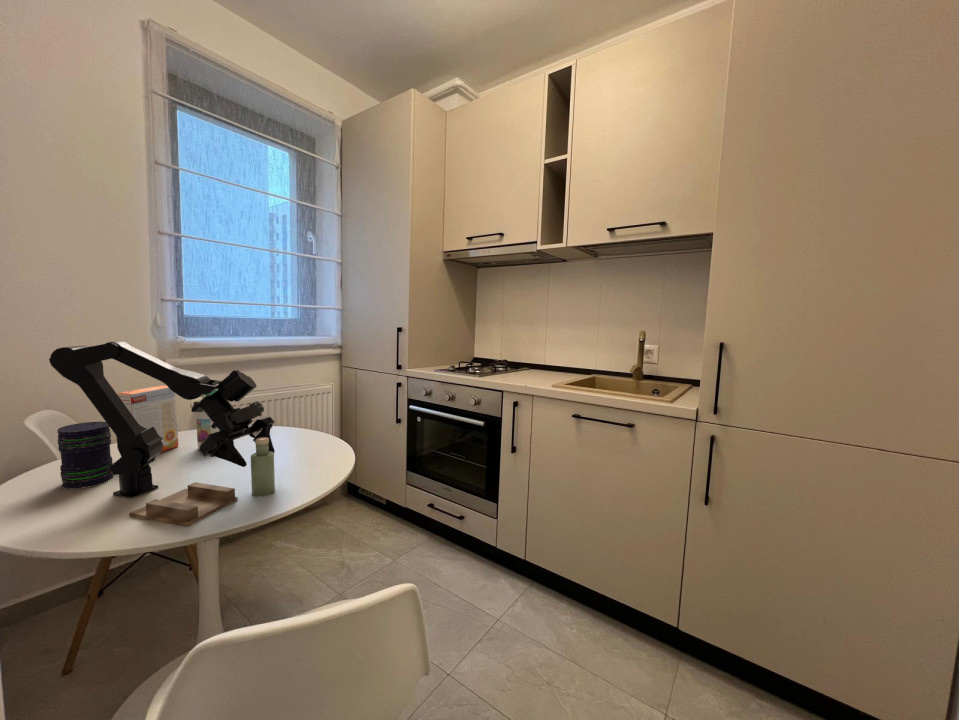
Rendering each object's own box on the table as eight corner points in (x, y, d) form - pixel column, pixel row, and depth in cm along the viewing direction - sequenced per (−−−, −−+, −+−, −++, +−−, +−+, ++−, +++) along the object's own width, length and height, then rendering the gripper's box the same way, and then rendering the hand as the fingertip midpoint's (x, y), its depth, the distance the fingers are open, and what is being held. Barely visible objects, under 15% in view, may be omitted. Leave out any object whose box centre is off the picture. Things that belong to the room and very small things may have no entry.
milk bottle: (220, 442, 138) (218, 386, 136) (228, 447, 133) (226, 389, 131) (194, 447, 132) (191, 389, 130) (202, 452, 127) (199, 392, 125)
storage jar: (91, 489, 99) (86, 432, 98) (49, 489, 98) (44, 431, 97) (123, 473, 109) (120, 421, 107) (86, 473, 108) (82, 421, 107)
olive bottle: (246, 495, 98) (245, 441, 97) (262, 486, 103) (261, 435, 102) (264, 497, 97) (262, 443, 96) (279, 489, 102) (278, 437, 101)
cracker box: (164, 445, 133) (161, 384, 131) (179, 446, 132) (176, 385, 130) (119, 459, 119) (115, 392, 117) (136, 461, 118) (131, 393, 116)
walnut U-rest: (129, 516, 87) (128, 502, 86) (185, 491, 99) (185, 479, 99) (186, 527, 83) (185, 512, 83) (237, 500, 96) (237, 487, 95)
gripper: (206, 401, 90) (248, 451, 89) (267, 387, 108) (303, 429, 107) (181, 431, 93) (221, 481, 91) (245, 413, 111) (279, 454, 109)
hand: (260, 459), depth 100 cm, fingers open, 9 cm apart
